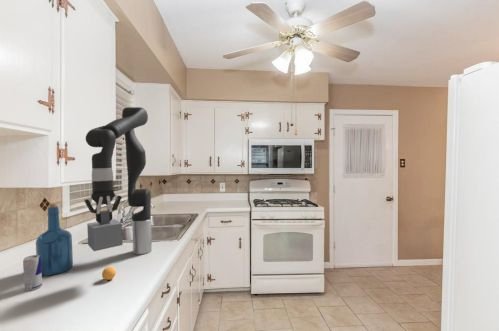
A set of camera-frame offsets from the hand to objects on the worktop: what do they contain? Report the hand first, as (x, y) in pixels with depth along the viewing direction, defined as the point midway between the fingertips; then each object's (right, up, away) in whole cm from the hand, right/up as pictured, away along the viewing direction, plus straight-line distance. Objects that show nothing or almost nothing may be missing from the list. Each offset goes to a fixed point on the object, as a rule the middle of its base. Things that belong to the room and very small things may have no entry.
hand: (104, 221), depth 108 cm
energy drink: (-25, -25, -4) cm, 36 cm away
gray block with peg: (0, -10, 0) cm, 10 cm away
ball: (+1, -22, +2) cm, 22 cm away
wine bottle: (-28, -24, +11) cm, 39 cm away
